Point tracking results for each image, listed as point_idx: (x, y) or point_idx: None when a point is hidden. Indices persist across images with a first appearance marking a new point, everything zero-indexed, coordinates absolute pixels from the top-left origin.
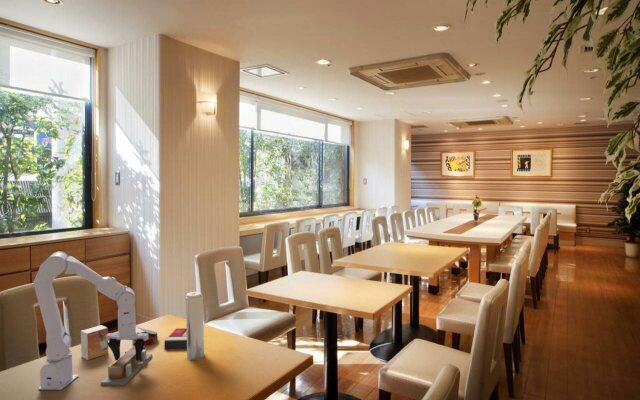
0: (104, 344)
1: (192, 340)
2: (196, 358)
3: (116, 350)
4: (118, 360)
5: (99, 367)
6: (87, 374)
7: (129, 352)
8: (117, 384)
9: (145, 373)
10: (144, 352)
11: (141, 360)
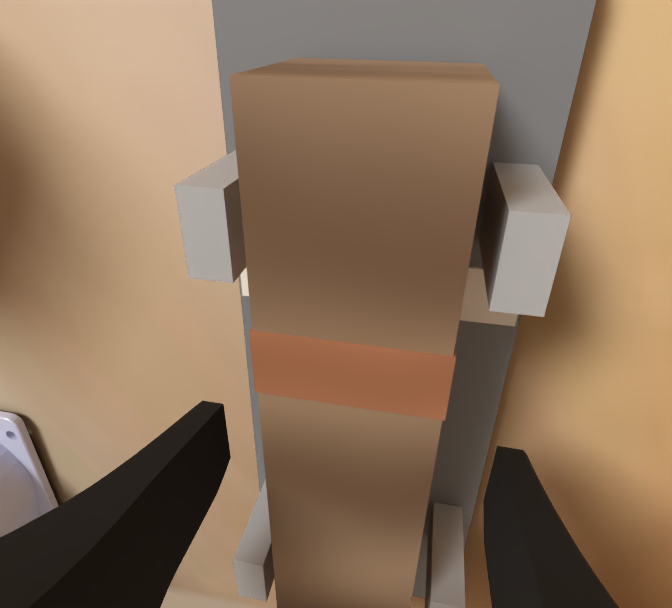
0: None
1: None
2: None
3: (158, 570)
4: (284, 558)
5: (51, 280)
6: (60, 391)
7: (310, 399)
8: None
9: (588, 453)
10: (544, 288)
11: None
